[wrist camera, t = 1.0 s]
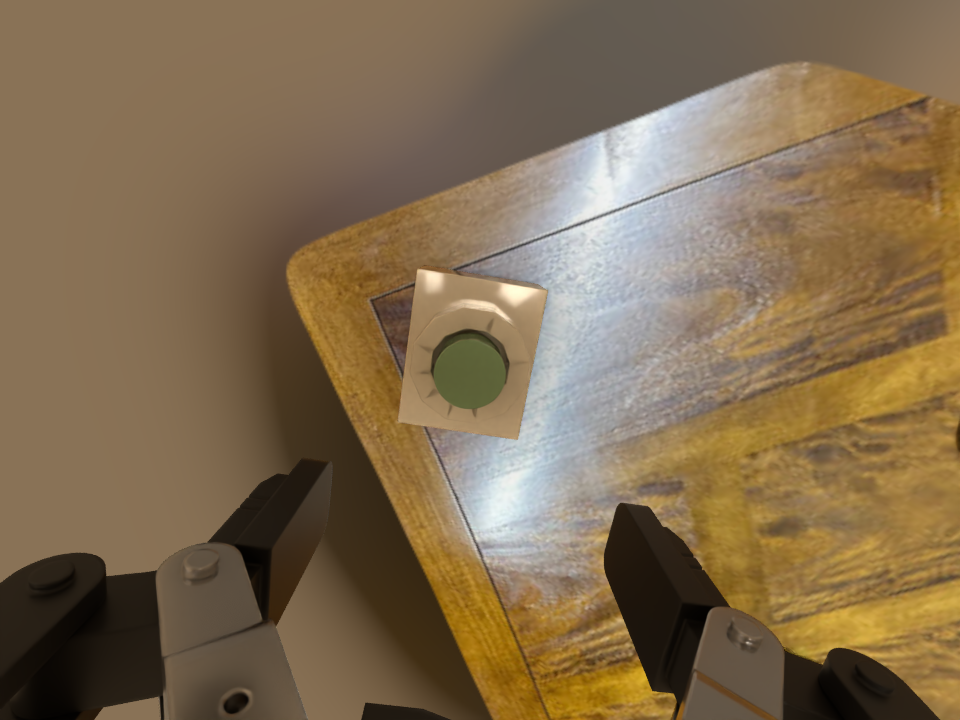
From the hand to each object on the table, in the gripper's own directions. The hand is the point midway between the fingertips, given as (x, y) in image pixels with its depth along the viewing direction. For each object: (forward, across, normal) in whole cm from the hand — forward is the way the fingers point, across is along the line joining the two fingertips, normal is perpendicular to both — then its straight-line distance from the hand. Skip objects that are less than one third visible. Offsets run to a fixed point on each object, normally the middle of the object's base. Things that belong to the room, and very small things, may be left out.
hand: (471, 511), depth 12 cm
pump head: (+15, 0, 0) cm, 15 cm away
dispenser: (+20, 0, 0) cm, 20 cm away
